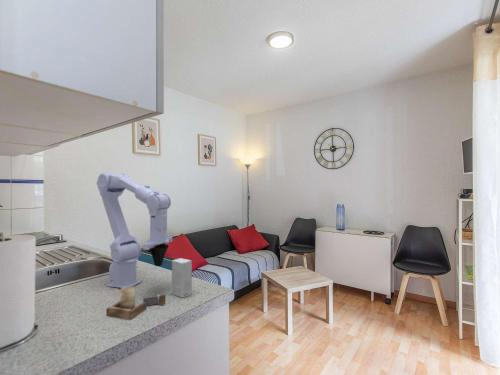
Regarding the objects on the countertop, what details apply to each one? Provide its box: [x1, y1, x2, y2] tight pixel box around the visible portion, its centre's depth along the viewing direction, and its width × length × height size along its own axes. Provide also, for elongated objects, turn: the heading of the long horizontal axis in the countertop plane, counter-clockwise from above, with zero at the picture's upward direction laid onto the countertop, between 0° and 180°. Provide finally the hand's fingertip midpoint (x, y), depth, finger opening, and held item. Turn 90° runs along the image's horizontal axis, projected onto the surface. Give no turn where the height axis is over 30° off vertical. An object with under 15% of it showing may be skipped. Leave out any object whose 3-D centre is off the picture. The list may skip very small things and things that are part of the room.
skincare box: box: [171, 257, 193, 298], centre depth 93 cm, size 6×4×12 cm
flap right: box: [142, 294, 160, 307], centre depth 84 cm, size 5×1×3 cm, turn 114°
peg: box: [119, 286, 136, 309], centre depth 80 cm, size 4×4×7 cm
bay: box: [106, 300, 147, 321], centre depth 80 cm, size 8×7×2 cm
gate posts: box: [158, 293, 166, 306], centre depth 87 cm, size 16×1×3 cm, turn 75°
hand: (158, 265), depth 95 cm, fingers closed
